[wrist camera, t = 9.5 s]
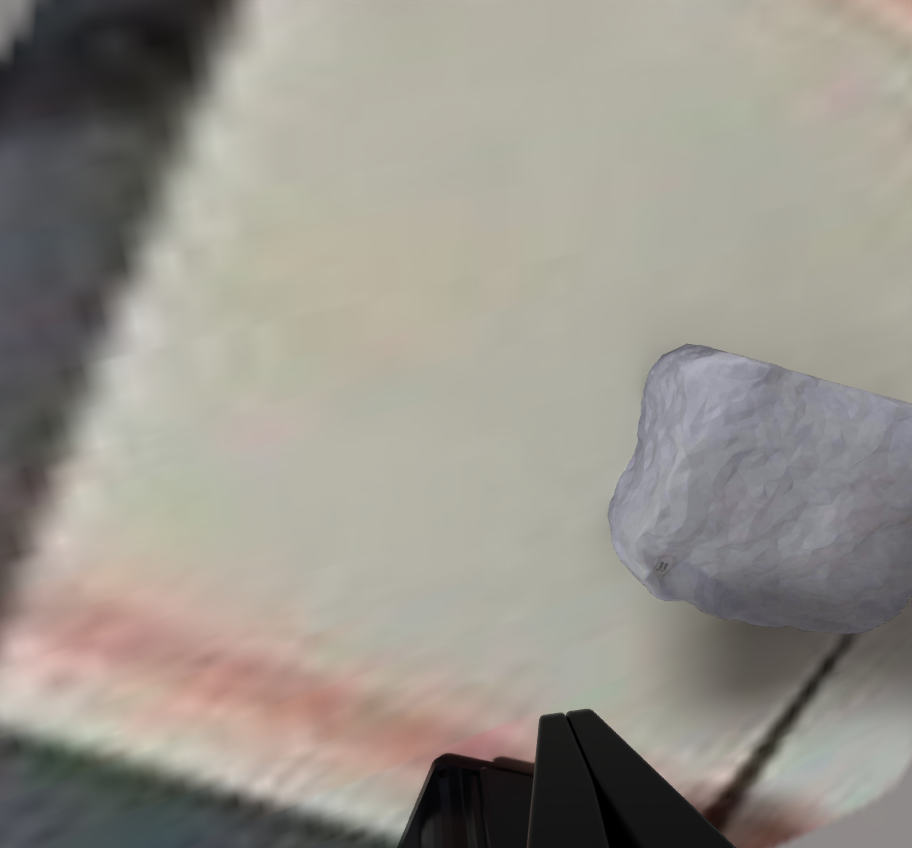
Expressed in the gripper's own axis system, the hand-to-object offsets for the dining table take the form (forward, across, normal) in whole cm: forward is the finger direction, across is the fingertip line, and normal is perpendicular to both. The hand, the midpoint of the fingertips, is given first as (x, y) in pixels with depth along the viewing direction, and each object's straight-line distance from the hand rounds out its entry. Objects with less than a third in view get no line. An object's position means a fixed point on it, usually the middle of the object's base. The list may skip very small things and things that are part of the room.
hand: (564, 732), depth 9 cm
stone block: (+12, -11, +2) cm, 17 cm away
